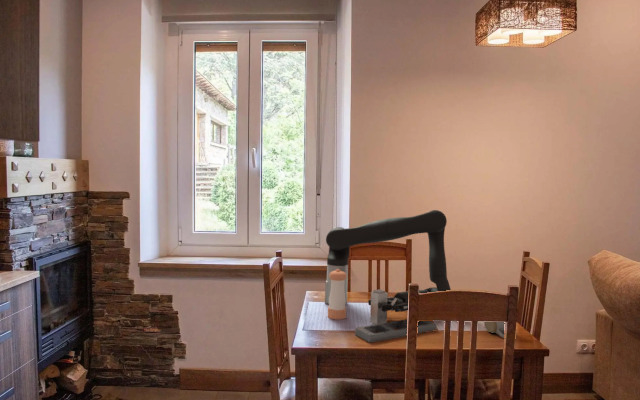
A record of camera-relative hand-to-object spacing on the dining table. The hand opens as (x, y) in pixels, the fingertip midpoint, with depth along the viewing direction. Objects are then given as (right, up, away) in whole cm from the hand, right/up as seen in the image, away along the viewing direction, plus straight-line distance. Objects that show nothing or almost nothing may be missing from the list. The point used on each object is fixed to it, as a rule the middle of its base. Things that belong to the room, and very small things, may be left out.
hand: (375, 305), depth 183 cm
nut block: (+1, -7, +1) cm, 7 cm away
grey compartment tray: (+7, -8, -10) cm, 14 cm away
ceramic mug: (+45, -9, -8) cm, 47 cm away
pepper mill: (-15, -6, +8) cm, 18 cm away
